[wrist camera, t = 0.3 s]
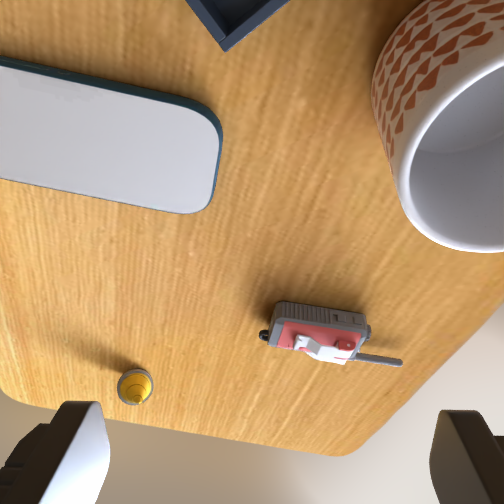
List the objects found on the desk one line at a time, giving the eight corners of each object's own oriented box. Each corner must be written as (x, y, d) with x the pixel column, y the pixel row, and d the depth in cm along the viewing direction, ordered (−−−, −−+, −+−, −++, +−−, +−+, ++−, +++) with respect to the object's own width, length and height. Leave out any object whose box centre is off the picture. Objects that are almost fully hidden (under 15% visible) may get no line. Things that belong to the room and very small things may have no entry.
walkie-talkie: (256, 337, 58) (397, 359, 59) (254, 365, 55) (403, 388, 56) (268, 295, 52) (425, 321, 53) (266, 325, 49) (433, 351, 50)
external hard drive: (-27, 160, 41) (-39, 172, 40) (-64, 36, 34) (-80, 45, 32) (211, 209, 43) (208, 221, 42) (230, 103, 36) (227, 113, 34)
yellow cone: (113, 367, 67) (117, 389, 58) (147, 359, 69) (156, 379, 60) (118, 400, 68) (123, 427, 58) (152, 391, 70) (162, 416, 60)
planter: (364, 160, 38) (386, 258, 29) (377, -16, 29) (416, 47, 20) (527, 150, 37) (606, 252, 27) (597, -40, 27) (752, 17, 18)
